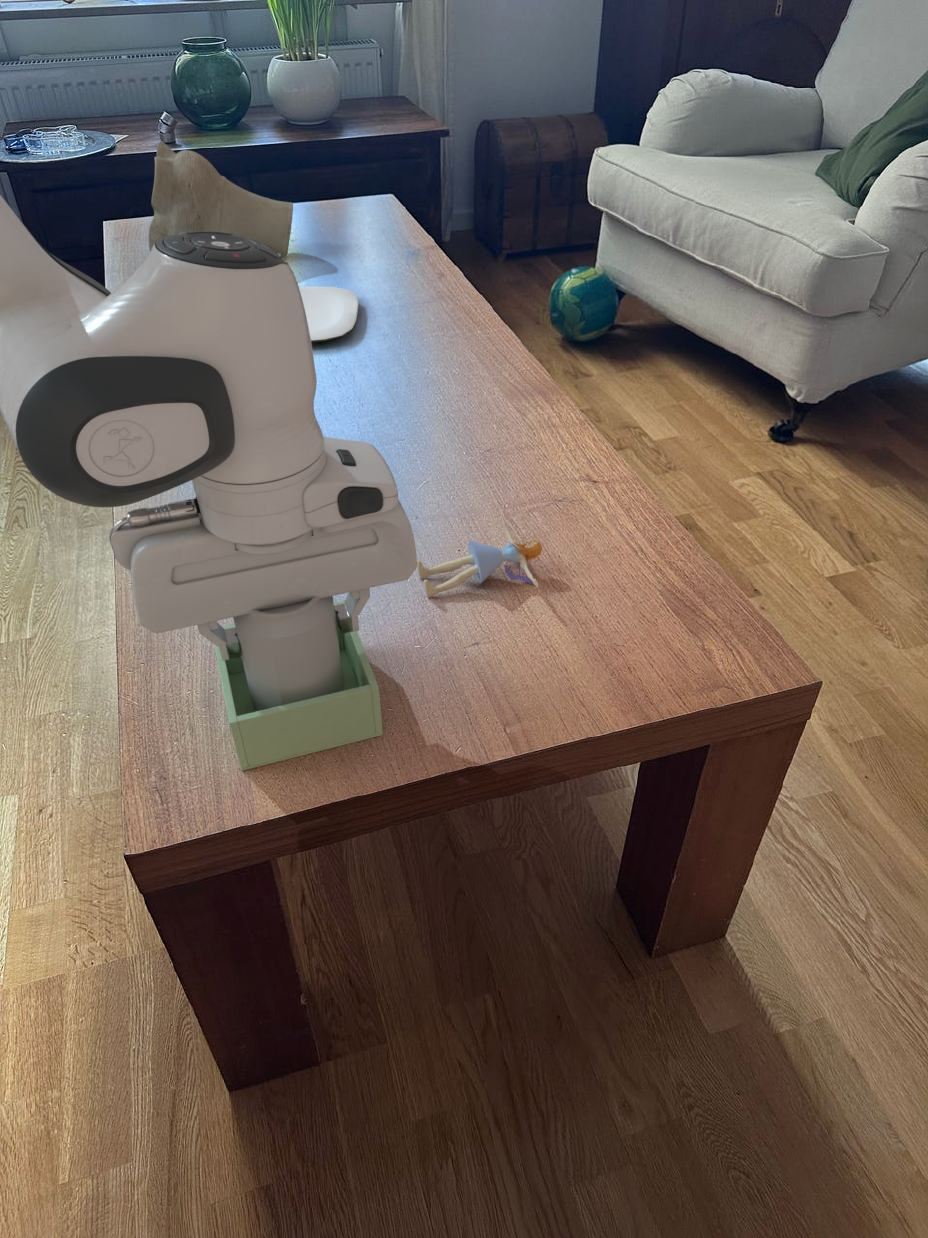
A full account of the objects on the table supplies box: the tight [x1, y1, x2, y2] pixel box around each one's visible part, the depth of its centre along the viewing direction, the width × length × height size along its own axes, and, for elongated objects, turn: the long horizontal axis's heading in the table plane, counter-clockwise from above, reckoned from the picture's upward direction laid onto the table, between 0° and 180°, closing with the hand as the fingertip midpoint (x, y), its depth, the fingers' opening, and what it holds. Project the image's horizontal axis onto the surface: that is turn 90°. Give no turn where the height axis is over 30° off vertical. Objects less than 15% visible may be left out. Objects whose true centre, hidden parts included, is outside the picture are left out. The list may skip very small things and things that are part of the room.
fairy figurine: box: [416, 516, 543, 598], centre depth 85 cm, size 12×5×12 cm
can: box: [232, 596, 344, 712], centre depth 69 cm, size 8×8×12 cm
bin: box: [213, 599, 384, 772], centre depth 71 cm, size 11×11×5 cm
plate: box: [298, 285, 360, 343], centre depth 134 cm, size 22×22×2 cm
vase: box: [147, 140, 294, 257], centre depth 151 cm, size 22×22×28 cm
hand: (290, 640), depth 68 cm, fingers open, 8 cm apart
